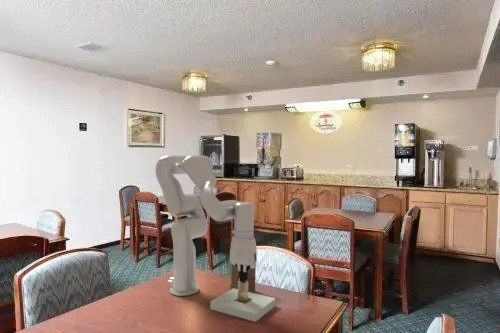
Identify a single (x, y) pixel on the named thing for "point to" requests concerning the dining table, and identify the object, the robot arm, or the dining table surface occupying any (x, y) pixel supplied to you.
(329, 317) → the dining table surface
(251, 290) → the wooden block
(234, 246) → the robot arm
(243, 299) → the peg
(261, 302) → the board
